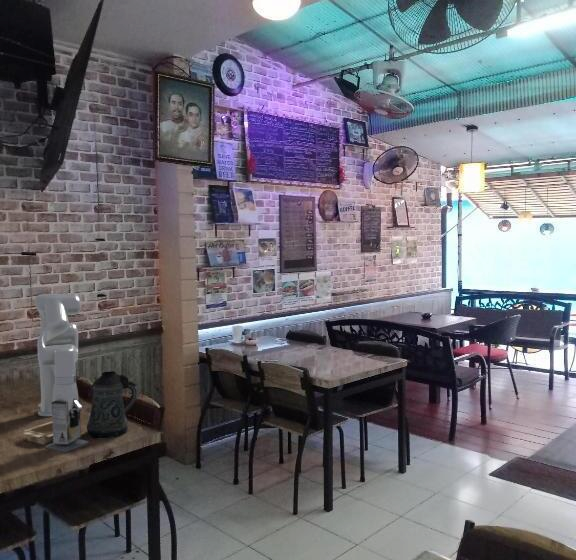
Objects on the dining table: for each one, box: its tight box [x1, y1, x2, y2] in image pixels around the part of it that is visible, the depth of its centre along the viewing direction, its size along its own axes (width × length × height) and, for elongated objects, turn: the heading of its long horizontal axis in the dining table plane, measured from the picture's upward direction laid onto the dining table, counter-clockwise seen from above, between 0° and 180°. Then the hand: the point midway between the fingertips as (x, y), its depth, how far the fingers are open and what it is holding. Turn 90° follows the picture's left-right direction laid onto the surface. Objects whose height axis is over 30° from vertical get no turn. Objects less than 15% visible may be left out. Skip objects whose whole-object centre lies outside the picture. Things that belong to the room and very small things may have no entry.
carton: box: [22, 420, 53, 446], centre depth 226 cm, size 16×19×4 cm
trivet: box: [45, 438, 90, 453], centre depth 216 cm, size 11×11×1 cm
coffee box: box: [51, 396, 82, 444], centre depth 216 cm, size 9×6×16 cm
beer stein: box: [86, 371, 138, 439], centre depth 232 cm, size 16×19×25 cm
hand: (66, 425), depth 216 cm, fingers closed on coffee box, 7 cm apart
